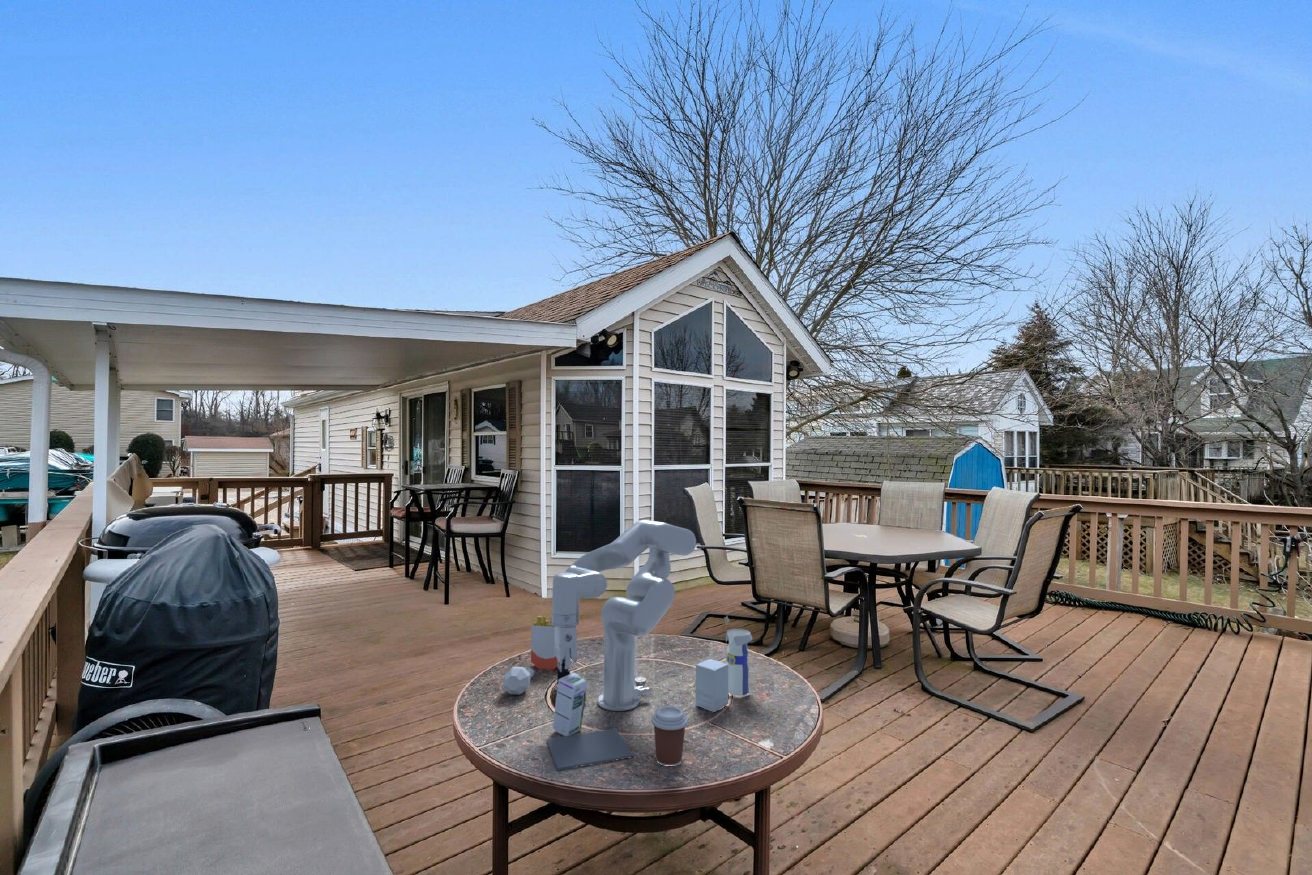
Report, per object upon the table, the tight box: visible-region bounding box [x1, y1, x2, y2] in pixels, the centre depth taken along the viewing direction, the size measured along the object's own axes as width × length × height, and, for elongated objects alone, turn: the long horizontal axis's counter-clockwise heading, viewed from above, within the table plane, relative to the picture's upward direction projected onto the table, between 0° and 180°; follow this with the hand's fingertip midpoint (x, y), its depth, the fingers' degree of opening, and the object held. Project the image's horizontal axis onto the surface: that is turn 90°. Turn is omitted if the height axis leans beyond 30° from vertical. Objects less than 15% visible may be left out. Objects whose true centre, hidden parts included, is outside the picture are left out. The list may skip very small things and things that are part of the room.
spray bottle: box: [723, 615, 753, 695], centre depth 191 cm, size 8×9×25 cm
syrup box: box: [551, 672, 589, 737], centre depth 162 cm, size 6×6×14 cm
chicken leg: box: [502, 666, 535, 696], centre depth 192 cm, size 8×18×8 cm, turn 176°
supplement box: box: [695, 658, 729, 711], centre depth 181 cm, size 7×7×13 cm
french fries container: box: [530, 615, 558, 670], centre depth 210 cm, size 5×11×18 cm, turn 85°
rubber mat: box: [546, 728, 634, 771], centre depth 153 cm, size 19×15×1 cm
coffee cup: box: [651, 705, 689, 765], centre depth 149 cm, size 9×9×12 cm
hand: (563, 684), depth 166 cm, fingers closed
